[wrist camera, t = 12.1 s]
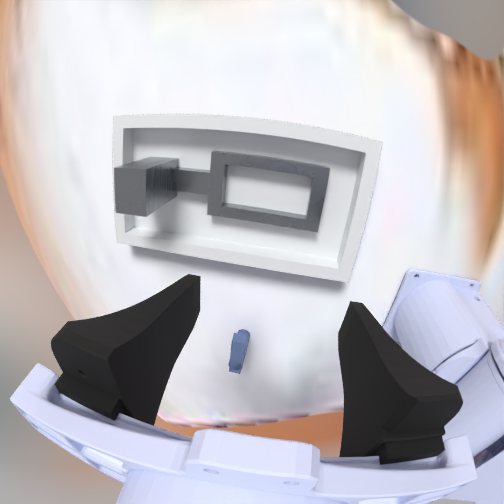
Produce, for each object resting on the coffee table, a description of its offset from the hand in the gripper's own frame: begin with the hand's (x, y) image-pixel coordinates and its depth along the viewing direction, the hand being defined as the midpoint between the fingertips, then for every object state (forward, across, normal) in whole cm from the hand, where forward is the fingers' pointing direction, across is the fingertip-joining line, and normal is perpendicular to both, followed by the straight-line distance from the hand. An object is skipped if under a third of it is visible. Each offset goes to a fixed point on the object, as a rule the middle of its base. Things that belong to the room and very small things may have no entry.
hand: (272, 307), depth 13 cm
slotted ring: (+9, +4, -3) cm, 10 cm away
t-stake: (+9, +2, +11) cm, 15 cm away
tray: (+9, +4, -3) cm, 11 cm away
